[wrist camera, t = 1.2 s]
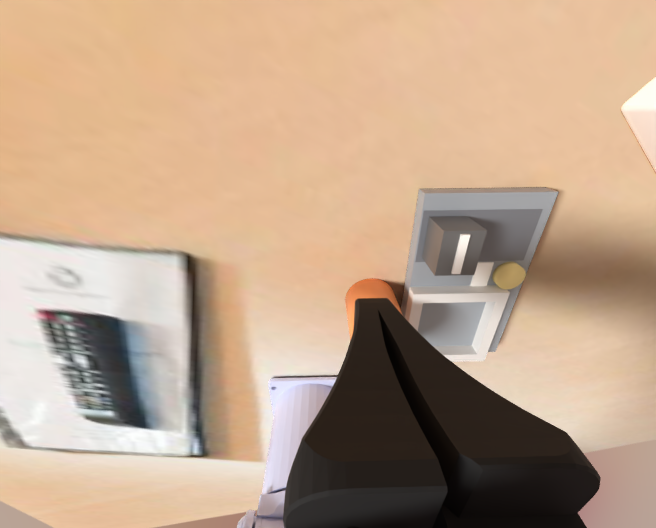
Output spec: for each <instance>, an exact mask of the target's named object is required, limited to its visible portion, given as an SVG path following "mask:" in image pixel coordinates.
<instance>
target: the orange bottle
mask: <svg viewBox="0 0 656 528" xmlns="http://www.w3.org/2000/svg"><path fill="white" fill-rule="evenodd" d="M358 298H388V299H389V300H390V301H391V302H392V304H393V305H394V306H395V307H396V308H397V309H398V311H399V312H400V313H401V314H402V312H401V310H400V307H399V305H398V302H397V300H396V297H395V295H394V292H393V290H392V288H391V287H390V286H389V284H387V283H386V282H384V281H382V280H379V279H365V280H361V281H359V282H357V283H355V284H354V285H353V286H352V287H351V288H350V289H349V290H348V292H347V294H346V299H345V300H346V309H347V317H348V325H349V333H350V340H351V338H352V334H353V329H354V311H355V300H357V299H358Z"/></svg>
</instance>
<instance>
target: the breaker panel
mask: <svg viewBox="0 0 656 528" xmlns="http://www.w3.org/2000/svg"><path fill="white" fill-rule="evenodd" d="M557 195H558V191H555V190H552V189H549V188H546V187H526V188H448V189H419V193H418V199H417V206H416V213H415V219H414V226H413V232H412V239H411V246H410V252H409V259H408V266H407V272H406V279H405V285H404V292H403V299H402V305H401V312H402V315H403V316H404V317H405V318H406V320H407V321H408V322H409V323H410V324H411V325H412V326H413V327H414V328H415V329H416V330H417V331H418V332H419V333H420V334H421V335H422V336H423V337H424V338H425V339H426V340H427V341H428V342H429V343H430V344H431V345H432V346H433V347H434V348H435V349H437V350H438V351H439V352H440V353H441V354H442V355H444V356H445V357H446V358H447V359H449V360H450V361H451V362H459V361H485V358H486V355H487V353H488V352H495V351H496V349H497V346H498V344H499V341H500V339H501V336H502V334H503V331H504V329H505V326H506V323H507V321H508V318H509V316H510V313H511V311H512V308H513V306H514V303H515V301H516V298H517V296H518V293H519V291H520V288H521V286H522V283H523V281H524V279H525V276H526V273H527V270H528V268H529V265H530V263H531V260H532V258H533V255H534V253H535V250H536V248H537V245H538V243H539V240H540V238H541V235H542V233H543V230H544V228H545V225H546V222H547V220H548V217H549V215H550V212H551V210H552V207H553V205H554V202H555V200H556V197H557ZM436 216H468V217H469V218H471V219H472V220H473V221H475V222H476V223H478V224H479V225H480V226H482V227H483V228H485V229H486V230H487V233H486V237H485V240H484V243H483V247H482V250H481V254H480V257H479V261H478V264H477V267H476V271H475V274H474V275H451V276H434V274H433V273H432V271H431V270H430V268H429V267H428V265H427V264H426V263H425V261H424V260H423V258H422V254H423V249H424V243H425V237H426V232H427V226H428V220H429V217H436Z"/></svg>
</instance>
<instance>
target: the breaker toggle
mask: <svg viewBox="0 0 656 528" xmlns="http://www.w3.org/2000/svg"><path fill="white" fill-rule="evenodd" d="M486 233H487V230H486V229H485V228H483V227H482V226H480V225H479V224H478V223H476V222H475V221H473V220H472V219H471V218H469V217H468V216H436V217H429V220H428V226H427V232H426V237H425V243H424V249H423V254H422V258H423V260H424V261H425V263H426V264H427V265H428V267H429V268H430V270H431V271H432V273H433V274H434V276H451V275H474V274H475V271H476V267H477V264H478V261H479V257H480V254H481V250H482V247H483V243H484V240H485V237H486Z"/></svg>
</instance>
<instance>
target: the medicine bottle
mask: <svg viewBox="0 0 656 528" xmlns="http://www.w3.org/2000/svg"><path fill="white" fill-rule="evenodd" d="M621 112H622V113H623V115H624V117H625V119H626V120H627V122H628V124H629V126H630V128H631V129H632V131H633V133H634V135H635V137H636V138H637V140H638V142H639V144H640V146H641V147H642V149H643V151H644V153H645V154H646V156H647V158H648V160H649V162H650V163H651V165H652V167H653V169H654V171H655V172H656V76H655V77H654V78H653V79H652V80H651V81H650V82H648V83H647V84H646V85H645V86H644V87H643V88H641V89H640V90H639V91H638V92H637V93H636V94H634V95H633V96H632V97H631V98H630V99H628V100H627V101H626V102H625V103H624V104H623V105H622V108H621Z"/></svg>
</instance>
